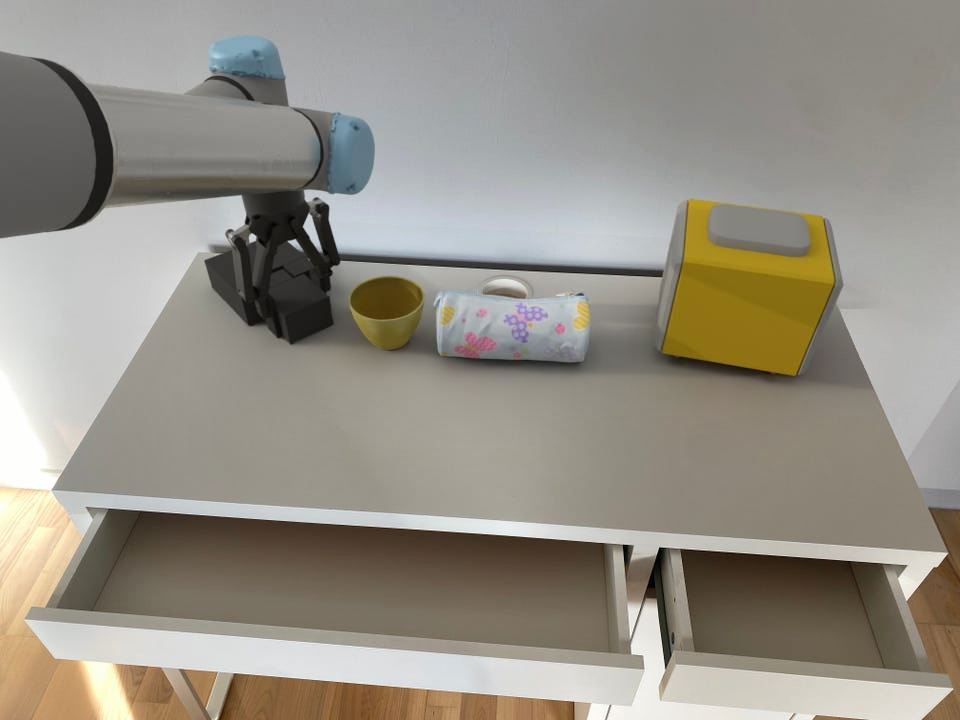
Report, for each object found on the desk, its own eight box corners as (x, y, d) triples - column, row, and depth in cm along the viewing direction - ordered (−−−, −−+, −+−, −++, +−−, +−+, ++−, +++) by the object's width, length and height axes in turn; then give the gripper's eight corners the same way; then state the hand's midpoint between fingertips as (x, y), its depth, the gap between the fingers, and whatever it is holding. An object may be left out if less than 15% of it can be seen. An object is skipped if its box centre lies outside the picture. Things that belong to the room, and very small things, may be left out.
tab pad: (290, 344, 99) (284, 316, 96) (256, 310, 104) (249, 282, 101) (334, 324, 102) (329, 296, 99) (298, 292, 108) (293, 264, 105)
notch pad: (248, 326, 102) (241, 297, 98) (212, 287, 108) (203, 260, 105) (322, 294, 108) (317, 266, 104) (283, 259, 114) (277, 232, 111)
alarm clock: (793, 316, 105) (836, 204, 92) (801, 389, 93) (852, 272, 81) (657, 295, 108) (681, 184, 96) (649, 363, 97) (675, 247, 84)
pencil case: (584, 333, 101) (592, 278, 95) (590, 375, 95) (599, 319, 88) (437, 330, 101) (434, 275, 95) (433, 372, 95) (430, 316, 89)
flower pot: (407, 308, 105) (404, 267, 100) (439, 347, 99) (437, 305, 94) (343, 329, 101) (337, 288, 97) (371, 371, 95) (366, 329, 90)
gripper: (324, 140, 94) (345, 282, 109) (177, 188, 84) (222, 336, 100) (355, 160, 90) (372, 305, 105) (204, 213, 80) (247, 364, 96)
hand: (299, 320), depth 102 cm, fingers closed on tab pad, 7 cm apart
